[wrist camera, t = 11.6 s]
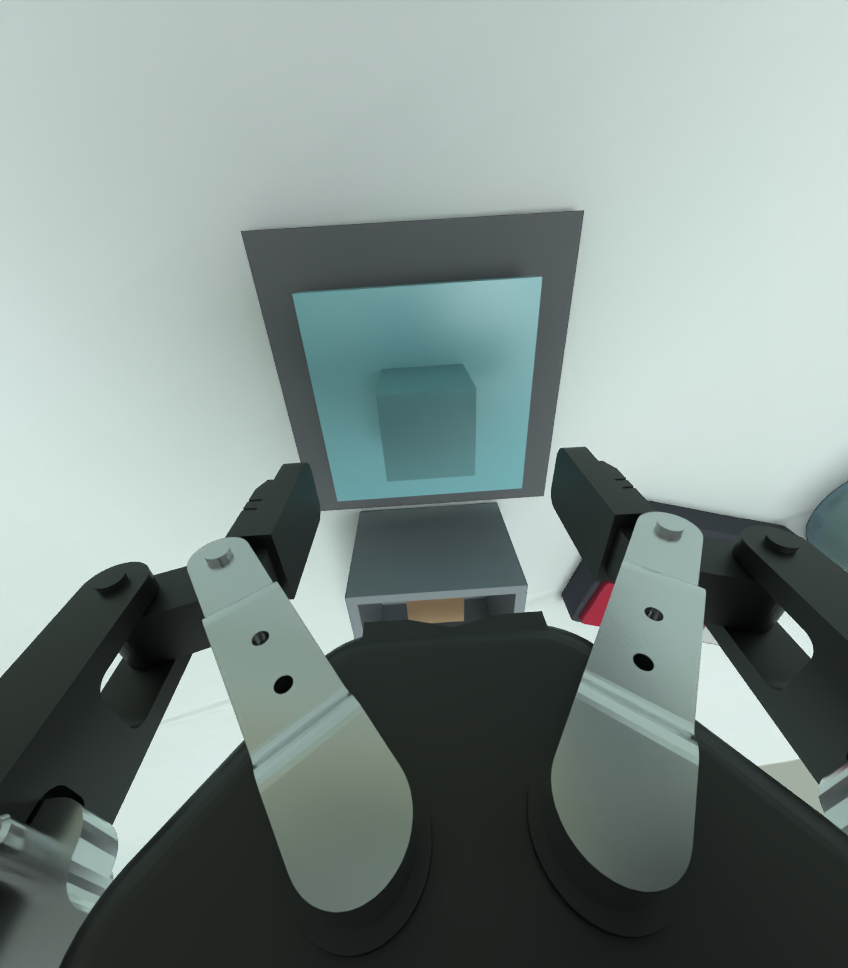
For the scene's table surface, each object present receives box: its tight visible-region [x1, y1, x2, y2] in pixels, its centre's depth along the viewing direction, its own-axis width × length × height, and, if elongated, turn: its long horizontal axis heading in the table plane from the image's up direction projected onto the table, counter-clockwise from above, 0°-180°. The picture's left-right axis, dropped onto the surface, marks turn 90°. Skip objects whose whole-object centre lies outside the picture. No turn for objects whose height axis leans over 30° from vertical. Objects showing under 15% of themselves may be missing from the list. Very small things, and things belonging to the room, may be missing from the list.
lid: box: [292, 276, 542, 501], centre depth 18 cm, size 11×11×7 cm
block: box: [406, 597, 464, 623], centre depth 27 cm, size 4×4×4 cm
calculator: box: [562, 501, 796, 645], centre depth 30 cm, size 11×4×15 cm
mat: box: [241, 210, 584, 511], centre depth 22 cm, size 16×16×1 cm
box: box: [345, 503, 528, 639], centre depth 26 cm, size 10×10×8 cm
